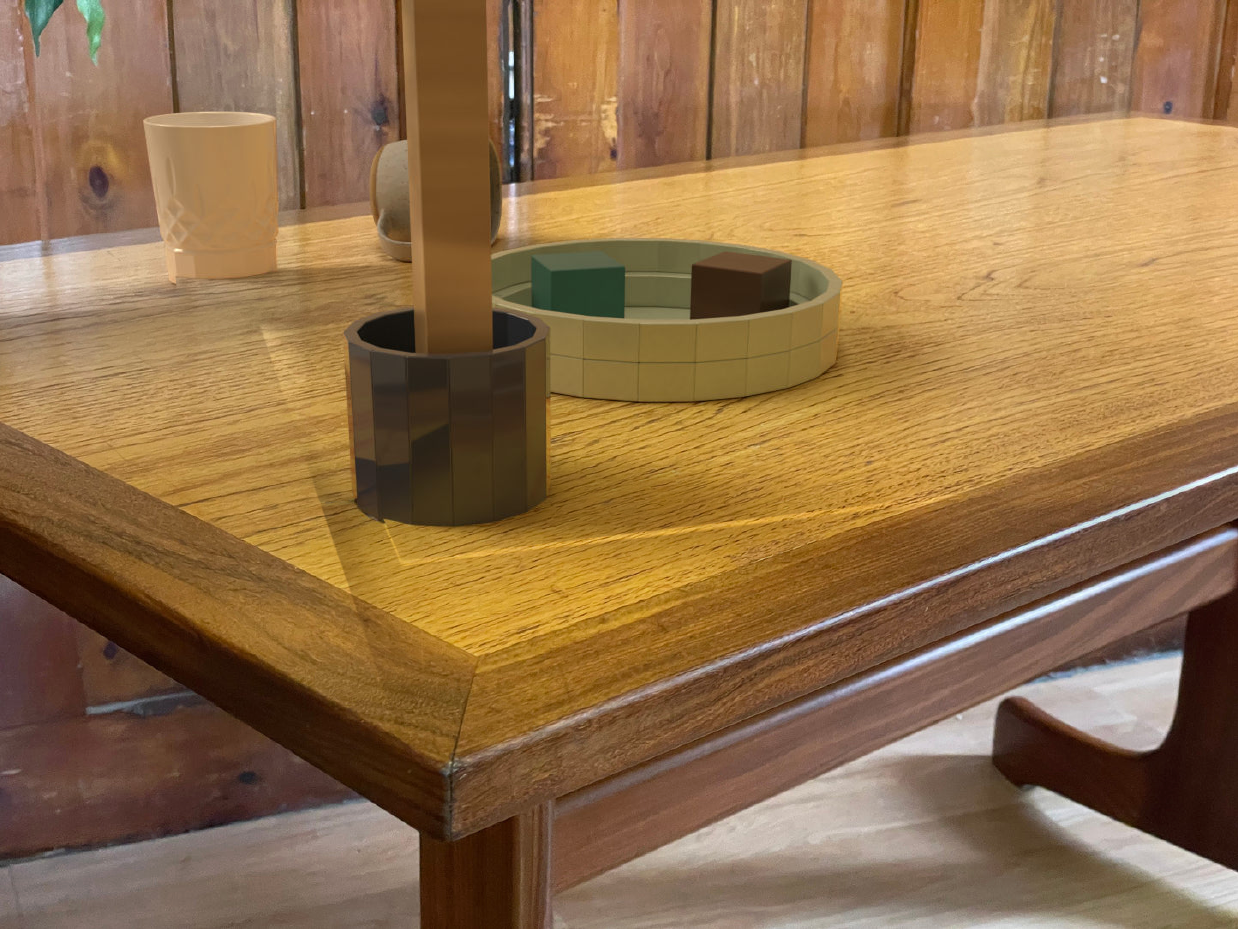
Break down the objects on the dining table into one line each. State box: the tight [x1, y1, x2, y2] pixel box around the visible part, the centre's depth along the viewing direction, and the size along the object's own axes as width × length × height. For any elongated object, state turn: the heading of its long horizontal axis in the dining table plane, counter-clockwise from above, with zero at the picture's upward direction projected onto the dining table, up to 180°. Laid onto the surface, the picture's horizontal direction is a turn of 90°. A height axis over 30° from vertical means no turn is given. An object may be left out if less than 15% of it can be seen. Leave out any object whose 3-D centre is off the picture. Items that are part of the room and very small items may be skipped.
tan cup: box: [142, 111, 279, 285], centre depth 86 cm, size 8×8×10 cm
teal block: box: [531, 251, 625, 319], centre depth 73 cm, size 4×4×4 cm
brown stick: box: [401, 0, 493, 354], centre depth 48 cm, size 2×2×20 cm
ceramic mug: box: [368, 137, 503, 263], centre depth 96 cm, size 11×8×8 cm
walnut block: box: [690, 251, 792, 320], centre depth 73 cm, size 4×4×4 cm
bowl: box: [491, 237, 844, 403], centre depth 71 cm, size 19×19×4 cm
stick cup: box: [342, 306, 552, 528], centre depth 51 cm, size 7×7×7 cm
